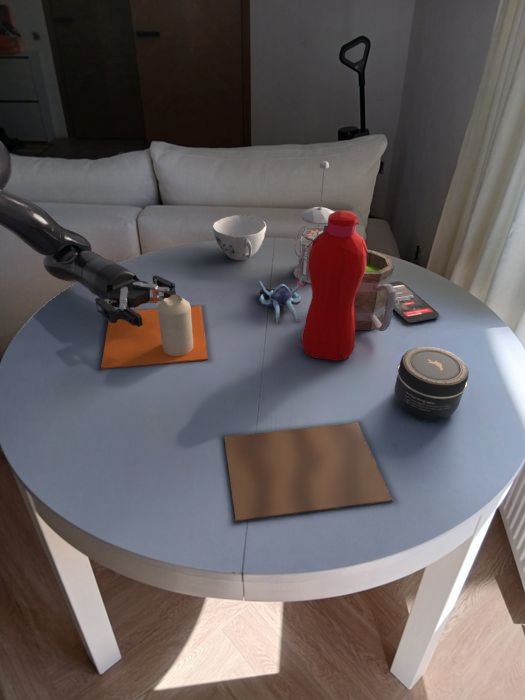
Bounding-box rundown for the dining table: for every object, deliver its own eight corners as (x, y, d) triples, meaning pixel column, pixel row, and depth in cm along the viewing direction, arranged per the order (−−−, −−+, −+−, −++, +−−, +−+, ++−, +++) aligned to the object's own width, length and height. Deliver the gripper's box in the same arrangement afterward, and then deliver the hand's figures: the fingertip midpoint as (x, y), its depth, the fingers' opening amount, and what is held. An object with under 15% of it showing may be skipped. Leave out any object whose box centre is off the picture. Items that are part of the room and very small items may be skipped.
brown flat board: (235, 521, 60) (235, 520, 59) (224, 438, 71) (224, 436, 70) (392, 501, 62) (392, 499, 62) (357, 424, 73) (357, 422, 73)
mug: (320, 307, 101) (325, 253, 94) (366, 298, 104) (374, 245, 97) (359, 349, 89) (368, 291, 82) (409, 338, 92) (422, 281, 85)
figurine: (271, 329, 96) (263, 294, 92) (256, 304, 106) (248, 271, 101) (316, 314, 97) (310, 279, 92) (297, 290, 107) (290, 258, 102)
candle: (160, 356, 86) (154, 307, 80) (164, 338, 90) (158, 290, 84) (192, 356, 86) (188, 307, 80) (194, 338, 90) (191, 290, 84)
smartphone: (408, 320, 96) (371, 285, 107) (408, 323, 96) (371, 288, 107) (440, 315, 97) (400, 280, 109) (440, 318, 98) (400, 283, 109)
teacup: (209, 247, 123) (207, 217, 119) (256, 242, 126) (257, 212, 122) (223, 274, 112) (222, 241, 107) (275, 268, 115) (276, 235, 110)
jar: (404, 375, 83) (413, 338, 79) (464, 397, 79) (477, 359, 74) (382, 408, 76) (390, 369, 72) (446, 434, 72) (459, 395, 67)
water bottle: (296, 329, 94) (304, 200, 79) (354, 336, 92) (373, 206, 78) (289, 358, 86) (297, 221, 72) (352, 365, 85) (373, 227, 70)
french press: (344, 273, 113) (359, 161, 98) (312, 290, 106) (322, 173, 92) (312, 260, 119) (320, 152, 104) (279, 275, 112) (283, 162, 97)
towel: (101, 368, 83) (100, 367, 83) (110, 313, 98) (110, 312, 97) (207, 359, 86) (207, 358, 86) (201, 307, 100) (201, 305, 100)
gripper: (72, 276, 89) (123, 309, 80) (138, 253, 98) (190, 280, 89) (81, 311, 94) (129, 346, 85) (143, 286, 102) (193, 315, 93)
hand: (160, 312), depth 87 cm, fingers open, 8 cm apart
